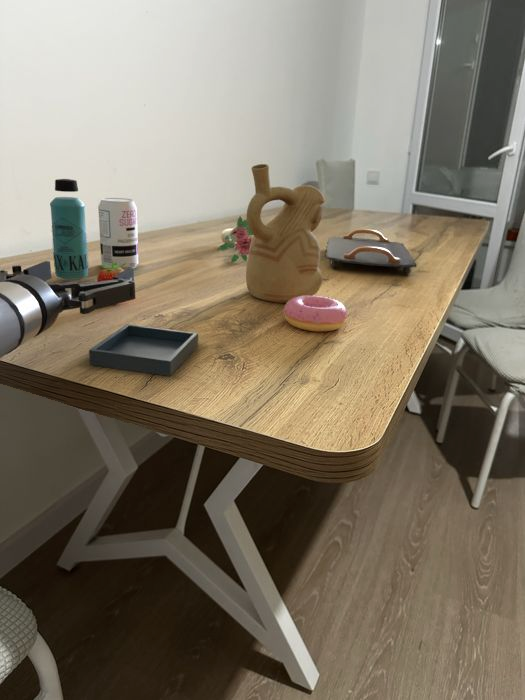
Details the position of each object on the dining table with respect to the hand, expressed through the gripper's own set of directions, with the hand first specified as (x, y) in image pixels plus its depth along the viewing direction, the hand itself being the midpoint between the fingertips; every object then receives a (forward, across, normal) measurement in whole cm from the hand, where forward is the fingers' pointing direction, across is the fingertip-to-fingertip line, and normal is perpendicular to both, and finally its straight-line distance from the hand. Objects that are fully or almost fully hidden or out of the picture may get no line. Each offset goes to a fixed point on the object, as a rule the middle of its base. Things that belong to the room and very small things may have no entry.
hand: (89, 273), depth 82 cm
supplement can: (+38, -10, -8) cm, 39 cm away
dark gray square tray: (-12, +13, -8) cm, 20 cm away
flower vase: (+60, +14, -8) cm, 62 cm away
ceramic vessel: (+25, +28, -8) cm, 39 cm away
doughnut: (+8, +36, -8) cm, 38 cm away
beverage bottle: (+21, -13, -8) cm, 26 cm away
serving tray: (+70, +49, -8) cm, 86 cm away
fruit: (+10, 0, -8) cm, 12 cm away
